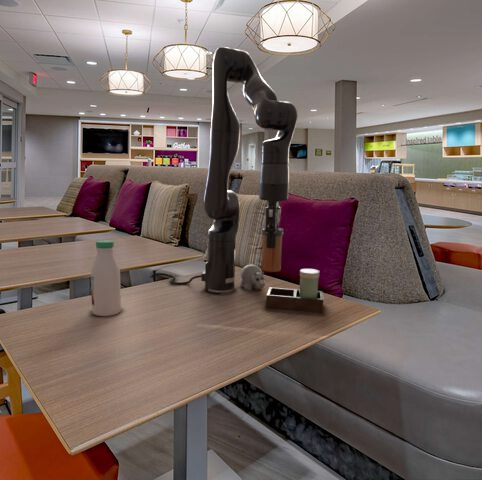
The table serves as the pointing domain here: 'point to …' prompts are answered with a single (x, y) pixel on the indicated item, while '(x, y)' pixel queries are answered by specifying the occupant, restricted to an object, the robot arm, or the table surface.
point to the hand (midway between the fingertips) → (271, 245)
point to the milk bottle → (105, 281)
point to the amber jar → (272, 252)
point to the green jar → (309, 283)
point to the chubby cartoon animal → (252, 277)
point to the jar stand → (293, 301)
